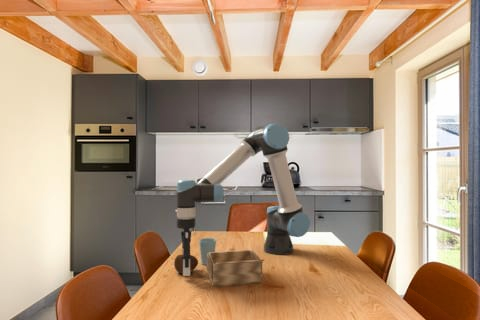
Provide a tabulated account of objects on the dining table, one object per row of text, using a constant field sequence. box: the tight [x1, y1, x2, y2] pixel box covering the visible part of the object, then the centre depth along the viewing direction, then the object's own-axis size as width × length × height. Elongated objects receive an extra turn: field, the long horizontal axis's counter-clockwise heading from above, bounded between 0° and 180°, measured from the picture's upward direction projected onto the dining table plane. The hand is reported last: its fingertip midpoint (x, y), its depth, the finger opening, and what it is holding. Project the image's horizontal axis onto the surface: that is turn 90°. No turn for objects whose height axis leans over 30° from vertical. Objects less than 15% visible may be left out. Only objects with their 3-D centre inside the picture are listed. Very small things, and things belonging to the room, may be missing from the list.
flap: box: [215, 258, 265, 265], centre depth 112 cm, size 17×1×6 cm
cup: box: [198, 237, 217, 266], centre depth 141 cm, size 8×8×10 cm
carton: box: [206, 249, 263, 288], centre depth 123 cm, size 20×17×8 cm
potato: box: [173, 253, 199, 274], centre depth 128 cm, size 7×10×8 cm
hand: (185, 269), depth 128 cm, fingers open, 13 cm apart
